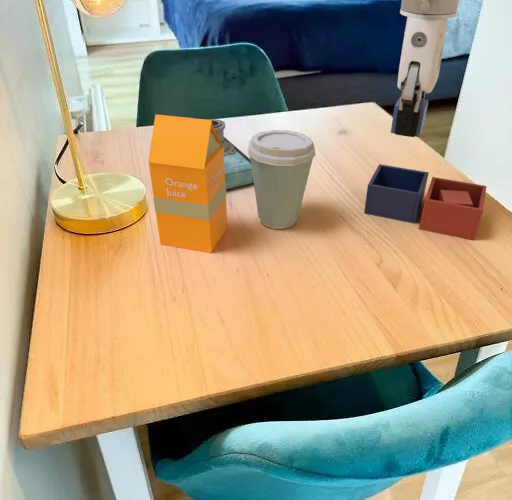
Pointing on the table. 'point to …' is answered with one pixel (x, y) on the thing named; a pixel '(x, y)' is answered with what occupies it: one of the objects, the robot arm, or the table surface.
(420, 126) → the blue block
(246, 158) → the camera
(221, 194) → the orange juice
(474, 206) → the red bin
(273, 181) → the disposable coffee cup
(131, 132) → the table surface
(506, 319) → the table surface
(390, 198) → the blue bin
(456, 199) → the red block
